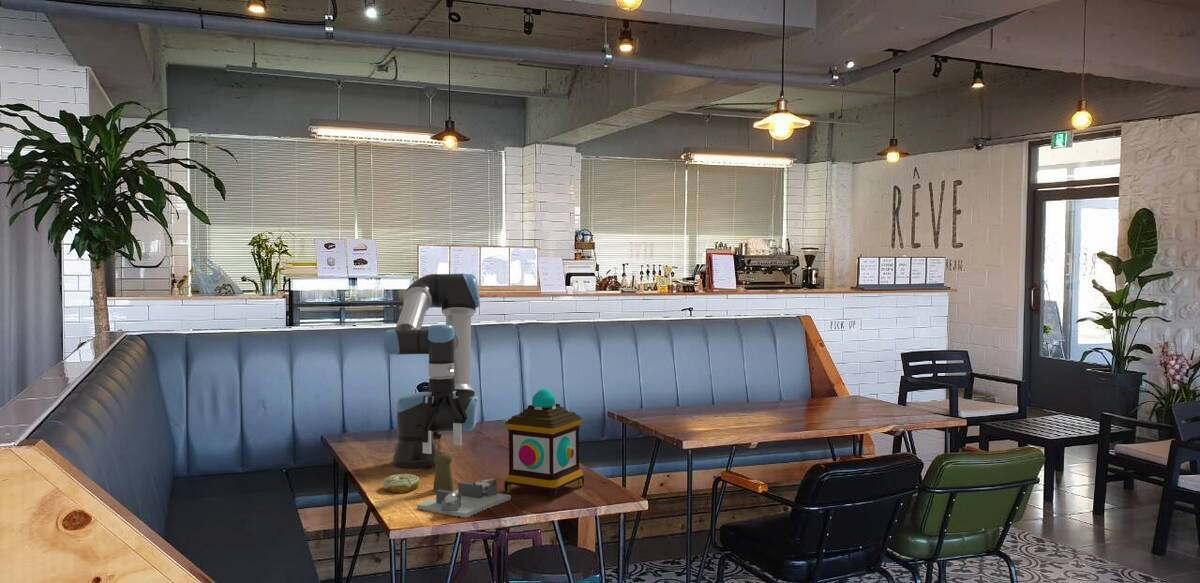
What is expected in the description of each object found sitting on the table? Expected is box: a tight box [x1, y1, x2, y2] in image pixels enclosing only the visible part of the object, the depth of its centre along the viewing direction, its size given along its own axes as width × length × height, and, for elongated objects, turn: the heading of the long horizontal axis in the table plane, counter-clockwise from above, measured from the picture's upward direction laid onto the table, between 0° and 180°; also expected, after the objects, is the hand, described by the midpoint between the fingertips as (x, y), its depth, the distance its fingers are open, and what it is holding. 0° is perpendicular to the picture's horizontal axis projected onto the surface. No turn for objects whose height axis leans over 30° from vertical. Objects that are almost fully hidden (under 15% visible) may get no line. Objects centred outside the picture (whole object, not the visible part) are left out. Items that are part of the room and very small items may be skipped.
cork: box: [432, 452, 455, 493], centre depth 261 cm, size 6×6×11 cm
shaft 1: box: [441, 490, 461, 511], centre depth 238 cm, size 5×4×4 cm
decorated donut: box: [382, 473, 421, 494], centre depth 263 cm, size 10×11×4 cm
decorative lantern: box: [503, 388, 585, 500], centre depth 261 cm, size 20×20×30 cm
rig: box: [416, 481, 512, 518], centre depth 247 cm, size 17×20×5 cm
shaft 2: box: [473, 477, 498, 497], centre depth 252 cm, size 6×4×4 cm
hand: (442, 449), depth 261 cm, fingers open, 13 cm apart
